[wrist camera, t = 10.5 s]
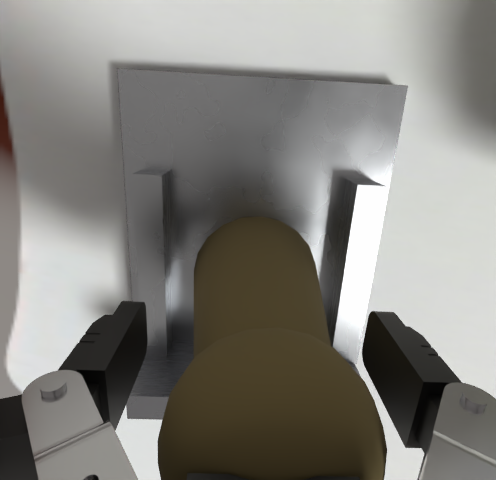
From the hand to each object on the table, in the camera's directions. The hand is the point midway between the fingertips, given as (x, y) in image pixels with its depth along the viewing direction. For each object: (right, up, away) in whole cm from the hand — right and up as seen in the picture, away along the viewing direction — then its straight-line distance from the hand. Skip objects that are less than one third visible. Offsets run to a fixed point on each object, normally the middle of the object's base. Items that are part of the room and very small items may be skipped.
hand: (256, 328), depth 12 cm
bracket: (0, +4, +5) cm, 6 cm away
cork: (0, +1, +5) cm, 5 cm away
